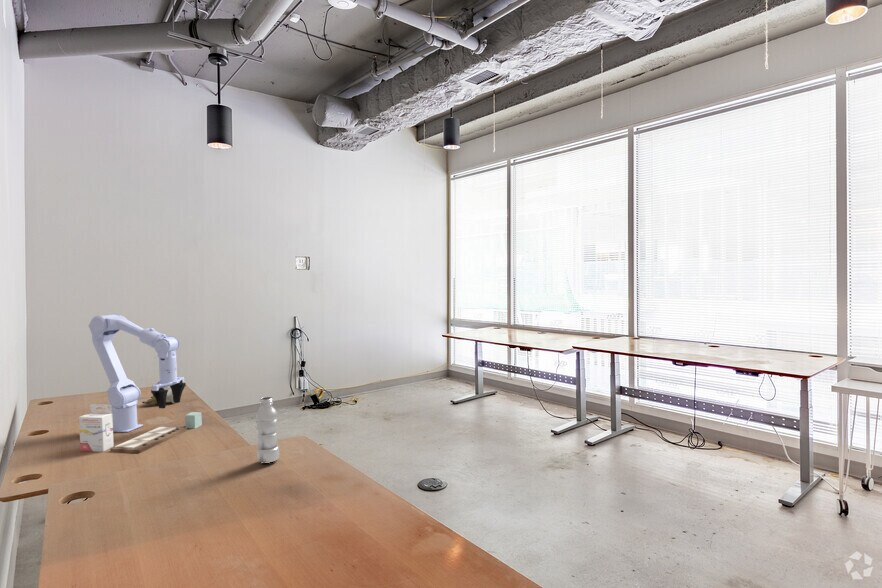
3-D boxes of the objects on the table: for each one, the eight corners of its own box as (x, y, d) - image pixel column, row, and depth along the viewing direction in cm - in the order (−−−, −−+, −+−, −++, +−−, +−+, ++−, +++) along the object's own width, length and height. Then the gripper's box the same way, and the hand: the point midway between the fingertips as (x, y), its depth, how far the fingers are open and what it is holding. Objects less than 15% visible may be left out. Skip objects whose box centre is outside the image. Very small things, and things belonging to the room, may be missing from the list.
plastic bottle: (284, 459, 153) (282, 396, 152) (268, 468, 147) (266, 402, 146) (268, 456, 156) (266, 394, 155) (252, 464, 150) (250, 400, 149)
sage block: (185, 428, 186) (185, 415, 186) (192, 424, 190) (192, 412, 190) (195, 428, 185) (194, 415, 185) (201, 425, 189) (201, 412, 189)
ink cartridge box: (79, 451, 163) (77, 407, 162) (91, 446, 168) (89, 403, 167) (103, 452, 162) (101, 408, 161) (114, 446, 167) (112, 404, 166)
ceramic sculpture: (176, 386, 217) (139, 389, 215) (177, 405, 217) (141, 409, 215) (184, 380, 228) (150, 384, 225) (186, 399, 228) (152, 402, 226)
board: (110, 451, 162) (110, 447, 162) (160, 429, 185) (160, 425, 185) (139, 453, 160) (139, 449, 160) (187, 430, 183) (186, 426, 183)
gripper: (163, 373, 175) (165, 411, 175) (190, 365, 189) (192, 400, 190) (146, 373, 176) (147, 410, 177) (174, 365, 190) (176, 399, 191)
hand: (169, 405), depth 183 cm, fingers open, 7 cm apart
